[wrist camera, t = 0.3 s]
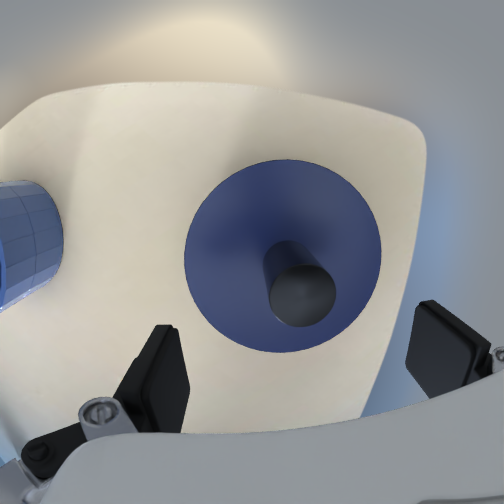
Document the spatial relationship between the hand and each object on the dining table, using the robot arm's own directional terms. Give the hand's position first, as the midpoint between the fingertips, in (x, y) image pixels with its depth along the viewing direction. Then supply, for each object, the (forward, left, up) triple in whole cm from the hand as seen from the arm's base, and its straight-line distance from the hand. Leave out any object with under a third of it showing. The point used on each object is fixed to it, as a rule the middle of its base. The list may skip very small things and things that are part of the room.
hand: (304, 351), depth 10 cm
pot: (+15, -23, -17) cm, 32 cm away
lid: (-1, 0, -9) cm, 9 cm away
